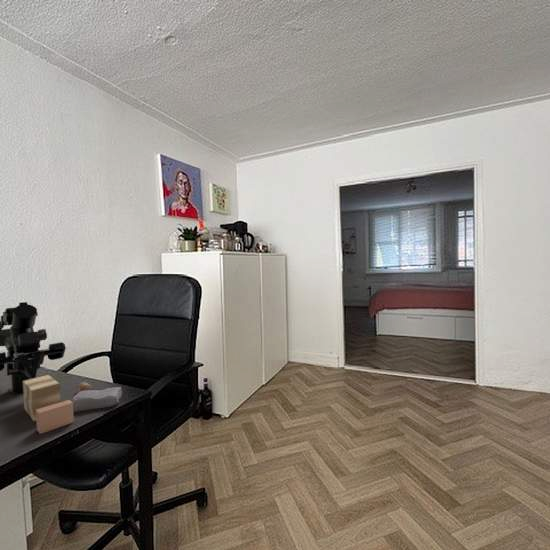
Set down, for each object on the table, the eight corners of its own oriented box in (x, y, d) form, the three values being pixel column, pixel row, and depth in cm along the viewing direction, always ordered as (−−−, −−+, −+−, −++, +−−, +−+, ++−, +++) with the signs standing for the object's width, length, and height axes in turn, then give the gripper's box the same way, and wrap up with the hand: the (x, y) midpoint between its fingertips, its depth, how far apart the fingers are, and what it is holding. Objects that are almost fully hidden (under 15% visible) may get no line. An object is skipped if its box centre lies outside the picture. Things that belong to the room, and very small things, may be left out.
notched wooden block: (24, 408, 87) (22, 380, 87) (49, 401, 91) (48, 374, 91) (33, 421, 79) (32, 390, 79) (61, 412, 83) (59, 383, 83)
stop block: (36, 429, 74) (35, 409, 74) (70, 418, 80) (69, 399, 80) (39, 433, 72) (38, 413, 72) (73, 422, 78) (72, 402, 78)
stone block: (81, 405, 92) (68, 413, 82) (82, 389, 93) (69, 395, 83) (124, 401, 95) (117, 408, 86) (125, 385, 96) (117, 390, 86)
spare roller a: (75, 390, 97) (79, 381, 98) (85, 391, 99) (89, 382, 100) (80, 394, 94) (84, 384, 95) (90, 395, 96) (94, 385, 97)
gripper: (-15, 327, 87) (-8, 373, 80) (62, 317, 101) (74, 356, 94) (-17, 350, 92) (-10, 395, 85) (57, 338, 106) (68, 376, 99)
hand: (33, 379), depth 91 cm, fingers closed
